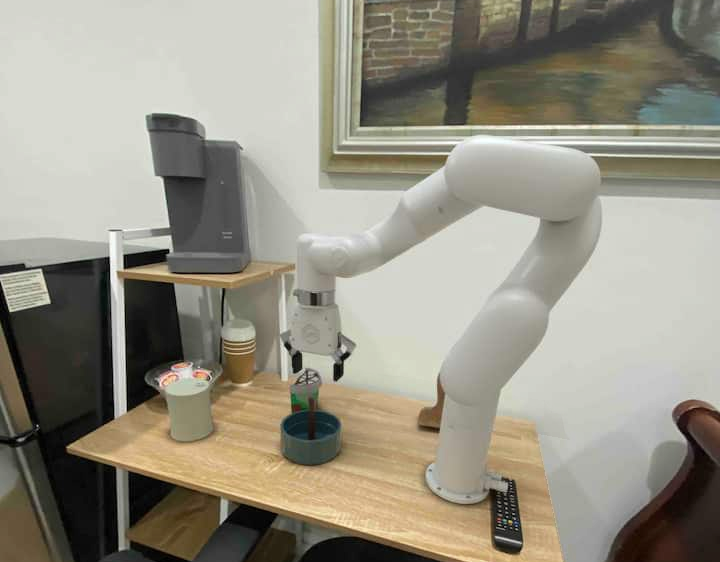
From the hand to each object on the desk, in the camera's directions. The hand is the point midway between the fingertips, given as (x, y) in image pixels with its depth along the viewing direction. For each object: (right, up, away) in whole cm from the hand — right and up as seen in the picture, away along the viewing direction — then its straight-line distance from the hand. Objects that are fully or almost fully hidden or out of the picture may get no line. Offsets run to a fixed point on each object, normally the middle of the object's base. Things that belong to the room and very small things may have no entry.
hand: (317, 375), depth 85 cm
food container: (-4, -11, +18) cm, 21 cm away
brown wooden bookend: (+32, -13, +16) cm, 38 cm away
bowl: (-2, -16, +3) cm, 17 cm away
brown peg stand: (-2, -16, +2) cm, 16 cm away
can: (-30, -14, +7) cm, 33 cm away
